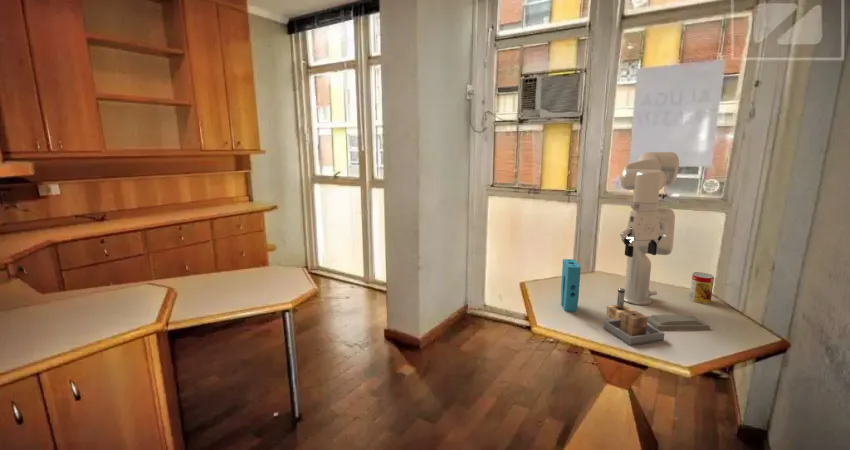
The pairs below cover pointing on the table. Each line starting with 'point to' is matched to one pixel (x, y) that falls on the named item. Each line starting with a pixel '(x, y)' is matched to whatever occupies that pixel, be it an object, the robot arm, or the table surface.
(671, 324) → the soap mold
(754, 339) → the table surface
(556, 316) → the table surface
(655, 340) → the tray
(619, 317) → the oak block
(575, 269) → the block
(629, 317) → the walnut block
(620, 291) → the gauge pin
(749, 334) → the table surface
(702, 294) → the canned food
